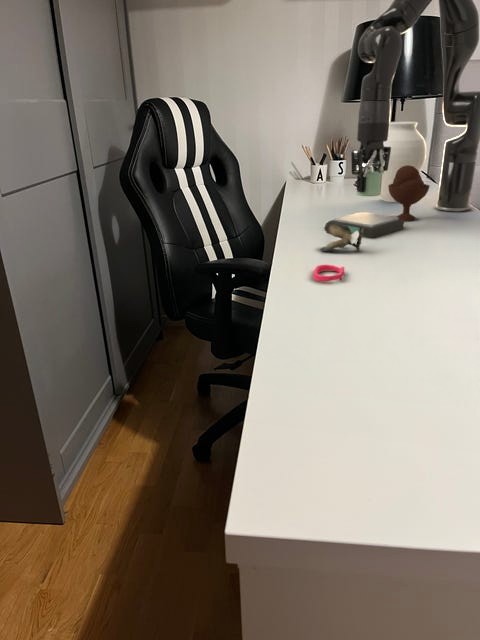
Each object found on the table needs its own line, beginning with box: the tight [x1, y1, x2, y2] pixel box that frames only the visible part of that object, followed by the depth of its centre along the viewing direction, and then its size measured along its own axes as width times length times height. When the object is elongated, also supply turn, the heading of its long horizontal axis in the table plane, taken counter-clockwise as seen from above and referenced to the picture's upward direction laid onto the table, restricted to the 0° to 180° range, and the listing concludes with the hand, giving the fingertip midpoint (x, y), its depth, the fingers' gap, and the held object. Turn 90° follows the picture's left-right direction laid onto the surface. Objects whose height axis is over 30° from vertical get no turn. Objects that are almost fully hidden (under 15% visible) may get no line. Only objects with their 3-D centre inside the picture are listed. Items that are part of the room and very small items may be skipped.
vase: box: [371, 121, 428, 203], centre depth 167 cm, size 18×18×25 cm
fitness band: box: [312, 264, 345, 283], centre depth 98 cm, size 8×6×2 cm
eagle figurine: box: [319, 219, 364, 253], centre depth 114 cm, size 8×7×9 cm
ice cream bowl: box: [388, 165, 431, 222], centre depth 141 cm, size 11×11×15 cm
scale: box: [328, 211, 405, 239], centre depth 133 cm, size 14×14×3 cm
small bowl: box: [356, 170, 382, 197], centre depth 129 cm, size 6×6×6 cm
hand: (368, 190), depth 130 cm, fingers closed on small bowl, 6 cm apart
